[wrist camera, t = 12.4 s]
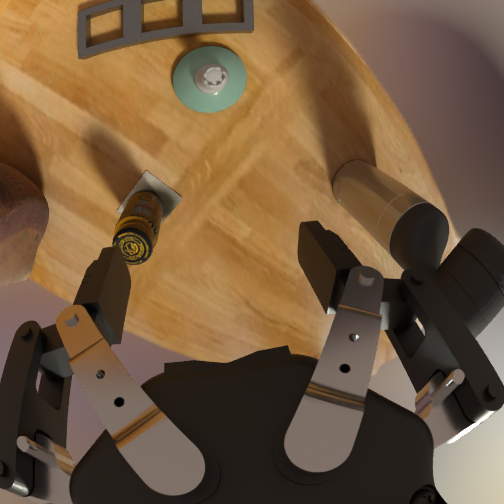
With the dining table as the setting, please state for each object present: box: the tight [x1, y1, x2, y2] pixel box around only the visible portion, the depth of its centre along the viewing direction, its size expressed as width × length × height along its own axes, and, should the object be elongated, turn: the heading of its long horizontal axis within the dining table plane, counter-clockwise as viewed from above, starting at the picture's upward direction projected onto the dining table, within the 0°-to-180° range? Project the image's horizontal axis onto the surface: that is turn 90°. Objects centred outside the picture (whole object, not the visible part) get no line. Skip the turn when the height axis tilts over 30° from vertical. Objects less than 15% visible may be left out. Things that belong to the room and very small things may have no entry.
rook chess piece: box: [194, 64, 229, 94], centre depth 28 cm, size 4×4×8 cm
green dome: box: [173, 46, 247, 113], centre depth 32 cm, size 10×10×1 cm
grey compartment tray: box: [78, 0, 254, 59], centre depth 24 cm, size 24×8×2 cm, turn 91°
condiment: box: [112, 171, 183, 265], centre depth 36 cm, size 7×8×12 cm
